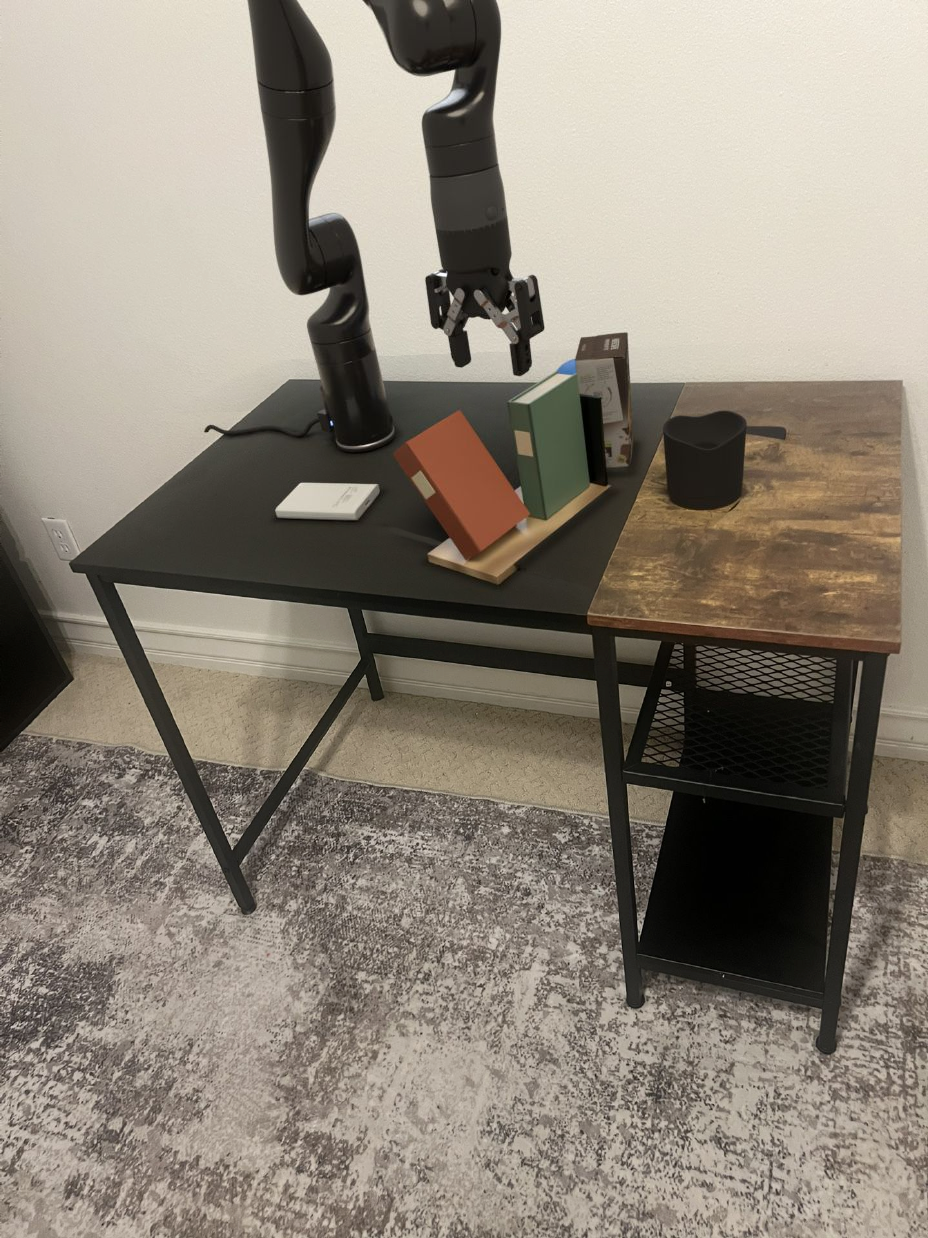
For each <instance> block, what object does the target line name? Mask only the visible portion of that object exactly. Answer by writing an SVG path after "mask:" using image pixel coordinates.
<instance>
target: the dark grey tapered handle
mask: <svg viewBox="0 0 928 1238" xmlns="http://www.w3.org/2000/svg"><path fill="white" fill-rule="evenodd" d="M746 435H751V436H758V437H764V438H771V439H775V440H781V441H785V440H786V436H787V429H786V428H785V427H784V426H772V425H771V426H769V425H768V426H767V425H759V426H758V425H747V426H746Z"/></svg>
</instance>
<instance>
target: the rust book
mask: <svg viewBox="0 0 928 1238" xmlns="http://www.w3.org/2000/svg"><path fill="white" fill-rule="evenodd" d="M392 456H393V457H394V459H395V460H396V462H397V463H398V465H399V466H400V468H401V469H402V471H403V472H404V474H405V475H406V476H407V478H408V479H409V481H410V482H411V484H412V485H413V486H414V488H415V490H416V491H417V493H418V494H419V495H420V497H421V499H423V501H424V502H425V504H426V505H427V507H428V508H429V509H430V511H431V512H432V514H433V515H434V517H435V519H436V520H437V521H438V523H439V524H440V525H441V527H442V528H443V530H444V531H445V533H446V534H447V536H448V538H451V540H452V541H453V543H454V544H455V546H456V547H457V549H458V550H459V551H460V553H461V554H462V556H463V557H464V559H465V560H468V559H470V558H471V557H473V556H475V555H476V554H478V553H480V552H481V551H482V550H484V549H485V548H486V547H488V546H489V545H490V544H492V543H493V542H494V541H496V540H497V539H498V538H500V537H501V536H502V535H503V534H505V533H506V532H507V531H509V530H510V529H511V528H513V527H514V526H515V525H517V524H518V523H519V522H521V521H522V520H523V519H524V518H526V517H527V516H528V515H530V513H529V511H528V510H527V508H526V507H525V505H524V504H523V502H522V501H521V500H520V498H519V497H518V495H517V494H516V492H515V489H514V488H513V486H512V485H511V483H510V482H509V481H508V479H507V477H506V476H505V474H504V473H503V472H502V470H501V469H500V467H499V466H498V464H497V463H496V461H495V459H494V458H493V457H492V455H491V453H490V452H489V451H488V449H487V448H486V445H484V443H483V442H482V441H481V439H480V437H479V435H478V434H477V433H476V432H475V430H474V429H473V427H472V425H471V424H470V423H469V421H468V420H467V418H466V417H465V415H464V414H463V412H462V410H460V409H459V410H457V411H455V412H454V413H452V414H450V415H448V416H446V417H445V418H444V419H442V420H440V421H439V422H437V423H435V424H434V425H432V426H430V427H428V428H427V429H425V430H424V431H422V432H421V433H419V434H417V435H416V436H414V437H413V438H411V439H409V440H407V441H405V442H404V443H403V444H402V445H401V446H400V447H399V448H397V449H396V450H395V451H394V452H393V453H392Z"/></svg>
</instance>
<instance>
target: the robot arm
mask: <svg viewBox="0 0 928 1238" xmlns="http://www.w3.org/2000/svg"><path fill="white" fill-rule="evenodd" d="M361 1H362V2H363V3H364V4H365V5H366V6H367V8H368V9H369V10H370V11H372V13H373V15H374V18H375V20H376V22H377V24H378V26H379V28H380V31H381V32H382V35H383V37H384V40H385V42H386V46H387V48H388V50H389V52H390V56H391V57H392V60H393V61H394V63H395V64H396V65H397V66H398V67H399V69H401V70H403V71H404V72H406V73H407V74H409V75H412V76H415V77H420V78H423V77H424V78H425V77H431V76H434V75H439V74H442V73H447V72H452V71H454V74H453V80H452V83H451V89H450V91H449V92H448V94H447V95H446V96H445V97H444V98H443V99H441V100H440V101H438V102H436V103H434V104H432V105H431V106H430V107H428V108H427V109H426V110H425V112H424V113H423V114H422V116H421V133H422V139H423V145H424V152H425V159H426V164H427V171H428V175H429V176H428V178H429V192H430V193H429V194H430V195H429V196H430V204H431V211H432V217H433V223H434V228H435V229H434V230H435V235H436V241H437V248H438V254H439V259H440V265H441V268H440V269H439V270H435V271H434V272H432V273H430V274H428V275H426V276H425V278H424V280H425V281H424V282H425V290H426V296H427V305H428V312H429V319H430V320H429V321H430V325H431V327H432V328H433V329H434V330H437V329H439V330H442V331H443V333H444V334H445V336H447V339H448V346H449V351H450V357H451V359H452V362H453V363H454V366H455V368H461V369H462V368H464V367H467V365H469V364H471V362H472V355H471V348H470V342H469V335H468V330H464V329H465V327H466V325H467V323H468V320H469V319H475V318H481V319H483V320H489V321H492V323H493V324H494V325H495V327H496V328H498V329H501V330H502V331H503V333H504V334H505V336H506V337H507V338H508V340H509V342H510V343H508V344H509V353H510V360H511V361H510V362H511V368H512V375H513V376H514V377H522V376H523V375H526V374H527V373H528V372H529V371H530V369H531V368H532V365H533V359H532V349H531V341H530V340H531V339H532V338H534V337H536V336H538V335H539V334H541V333H542V332H544V331H545V322H544V314H543V308H542V301H541V295H540V289H539V288H540V287H539V281H538V277H537V276H536V275H534V274H529V275H528V276H526V277H524V278H523V277H522V278H518V277H517V278H514V276H513V273H512V272H511V269H510V264H511V259H512V254H513V253H512V243H511V236H510V228H509V219H508V210H507V201H506V192H505V187H504V182H503V178H502V174H501V169H500V163H499V157H498V148H497V140H496V139H497V138H496V132H495V131H496V130H495V124H494V111H495V102H496V91H497V79H498V71H499V61H500V54H501V44H502V18H501V12H500V8H499V4H498V2H497V0H361ZM247 7H248V15H249V23H250V30H251V37H252V38H251V39H252V49H253V57H254V66H255V68H254V69H255V77H256V85H257V91H258V99H259V107H260V112H261V118H262V119H261V120H262V124H263V125H262V126H263V131H264V138H265V143H266V153H267V160H268V168H269V176H270V187H271V188H270V189H271V190H270V191H271V206H272V207H271V208H272V211H271V212H272V229H273V230H272V231H273V245H274V253H275V258H276V263H277V268H278V271H279V274H280V277H281V279H282V282H284V284H285V286H286V288H287V289H288V290H289V291H290V292H291V293H293V294H294V295H296V296H301V297H302V296H309V295H313V294H316V293H319V292H321V291H324V290H327V289H329V291H328V294H327V296H326V298H325V300H324V301H323V303H322V304H321V305H320V306H319V307H318V308H317V309H316V310H315V311H314V312H313V313H312V314H311V315H310V316H309V317H308V319H307V321H306V330H307V334H308V337H309V341H310V345H311V349H312V353H313V356H314V361H315V364H316V367H317V371H318V375H319V379H320V382H321V385H320V386H319V392H320V396H321V400H322V404H323V407H324V408H323V409H321V410H320V411H318V412H317V417H316V418H314V419H312V420H311V421H309V422H308V424H306V425H305V428H304V429H303V430H302V431H300V432H299V431H298V432H294V431H291V430H289V429H287V428H285V427H283V426H279V425H259V426H254V427H249V428H244V429H234V430H226V429H223V428H220V427H218V426H216V425H214V424H209V425H207V426H206V427H205V428H204V431H203V433H209V432H210V431H211V430H213V431H216V432H217V433H220V434H222V435H225V436H237V435H238V436H239V435H245V434H250V433H251V434H252V433H256V432H257V433H258V432H263V431H278V432H282V433H283V434H286V435H288V436H290V437H294V438H302V437H305V436H306V435H307V434H308V433H309V432H310V430H311V429H312V427H314V426H315V425H316V424H318V423H319V424H320V428H321V431H323V432H328V433H331V438H332V441H333V444H336V445H337V446H336V447H337V448H338V449H339V450H340V451H342V452H344V453H345V452H346V453H364V452H370V451H373V450H376V449H379V448H381V447H384V446H386V445H387V444H389V443H390V442H391V441H393V440H394V438H395V437H396V432H395V427H394V426H395V425H394V420H393V416H392V414H391V412H390V411H391V409H390V406H389V401H388V398H387V394H386V389H385V384H384V379H383V375H382V370H381V365H380V361H379V358H378V353H377V352H378V351H377V349H376V345H375V339H374V335H373V331H372V326H371V321H370V302H369V297H368V292H367V285H366V281H365V275H364V267H363V261H362V256H361V250H360V247H359V242H358V239H357V237H356V233H355V231H354V229H353V227H352V226H351V224H350V222H349V221H348V220H347V219H346V217H344V216H343V214H340V213H338V212H329V213H325V214H322V215H318V216H315V217H311V218H310V203H311V196H312V191H313V187H314V183H315V181H316V178H317V175H318V173H319V170H320V168H321V166H322V163H323V161H324V159H325V156H326V153H327V151H328V149H329V146H330V143H331V141H332V138H333V134H334V130H335V127H336V122H337V105H336V104H337V103H336V90H335V77H334V75H335V74H334V67H333V65H334V64H333V61H332V57H331V54H330V52H329V50H328V46H326V44H325V41H324V40H323V38H322V36H321V35H320V33H319V32H318V30H317V28H316V27H315V25H314V24H313V22H312V20H311V19H310V18H309V16H308V15H307V13H306V12H305V10H304V8H303V7H302V5H301V4H300V2H299V1H298V0H247ZM451 296H452V297H453V299H452V300H451ZM505 310H507V311H508V312H507V313H504V311H505Z"/></svg>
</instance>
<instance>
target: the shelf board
mask: <svg viewBox="0 0 928 1238" xmlns="http://www.w3.org/2000/svg"><path fill="white" fill-rule="evenodd" d="M610 487H612V485H610V484H608V485H607V486H606V487H605V486H600V485H596V484H591V483H590V486H589V487H588V488H586V489H585V490H584V491H582V492H581V493H580V494H579V495H577V496H576V497H575V498H574V499H572V500H571V501H570V502H568V503H567V504H566V505H565V506H563V507H562V508H561V509H559V510H558V511H557V512H556V513H554V514H553V515H552V516H550V517H549V518H548V519H547V520H543V519H539V518H535V517H531V516H527V517H526V518H524V519H523V520H522V521H521V522H519V523H518V524H517V525H515V526H514V527H513V528H511V529H510V530H509V531H507V532H506V533H505V534H503V535H502V536H501V537H500V538H498V539H497V540H496V541H494V542H493V543H492V544H490V545H489V546H488V547H486V548H485V549H484V550H482V551H481V552H480V553H478V554H476V555H475V556H473V557H471V558H470V559H468V560H465V559H464V557H463V556H462V554H461V553H460V551H459V550H458V549H457V547H456V546H455V544H454V543H453V541H452V540H451V538H450V537H448V538H447V539H445V540H444V541H443V542H442V543H440V544H439V545H437V546H436V547H434V548H433V549H431V551H429V552H428V553H427V559H428V562H429V563H431V564H434V565H438V566H440V567H444V568H447V569H449V570H452V571H455V572H458V573H462V574H464V575H466V576H470V577H473V578H476V579H479V580H482V581H485V582H488V583H491V584H494V585H497V586H499V585H500V584H502V583H503V582H504V581H505V580H506V579H508V578H509V577H510V576H512V575H513V574H514V573H516V572H517V571H518V570H519V569H520V568H521V567H522V565H519V564H516V563H517V562H518V561H519V560H520V559H522V558H523V557H524V556H525V555H526V554H528V553H529V552H530V551H532V550H533V549H534V548H536V546H538V545H539V544H540V543H541V542H543V541H544V540H545V539H546V538H548V537H549V536H550V535H552V534H553V533H554V532H555V531H556V530H558V529H559V528H561V526H563V525H564V524H565V523H567V522H568V521H569V520H571V518H573V517H575V515H577V514H578V513H579V512H580V511H582V510H583V509H584V508H585V507H586V506H587V505H589V504H591V503H592V502H593V501H595V499H596V498H598V497H599V496H600V495H602V494H603V493H604V492H605V491H607V490H608V489H609V488H610ZM514 491H515V492H516V494H517V495H518V497H519V498H520V500H521V501H522V502H523V497H522V490H521V485H520V486H518V487H517V488H516V489H514ZM523 504H524V503H523Z"/></svg>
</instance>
